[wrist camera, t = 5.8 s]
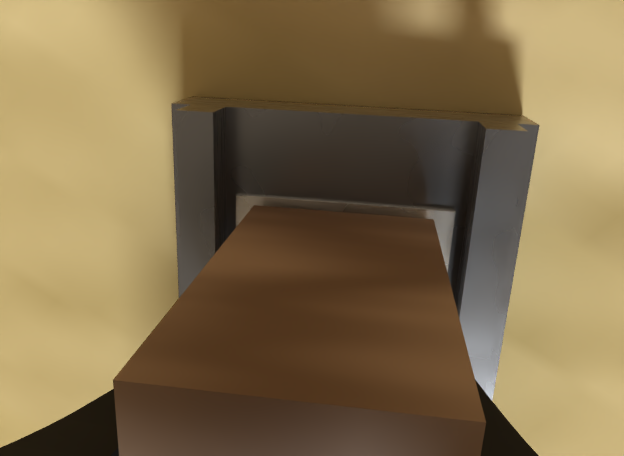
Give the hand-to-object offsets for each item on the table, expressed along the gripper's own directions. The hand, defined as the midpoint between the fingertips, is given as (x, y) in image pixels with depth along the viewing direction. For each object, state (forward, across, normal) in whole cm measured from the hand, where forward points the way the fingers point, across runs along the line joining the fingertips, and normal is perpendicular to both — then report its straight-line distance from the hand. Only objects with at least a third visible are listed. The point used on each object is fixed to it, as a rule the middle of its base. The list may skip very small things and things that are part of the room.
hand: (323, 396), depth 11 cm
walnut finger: (+3, 0, 0) cm, 3 cm away
